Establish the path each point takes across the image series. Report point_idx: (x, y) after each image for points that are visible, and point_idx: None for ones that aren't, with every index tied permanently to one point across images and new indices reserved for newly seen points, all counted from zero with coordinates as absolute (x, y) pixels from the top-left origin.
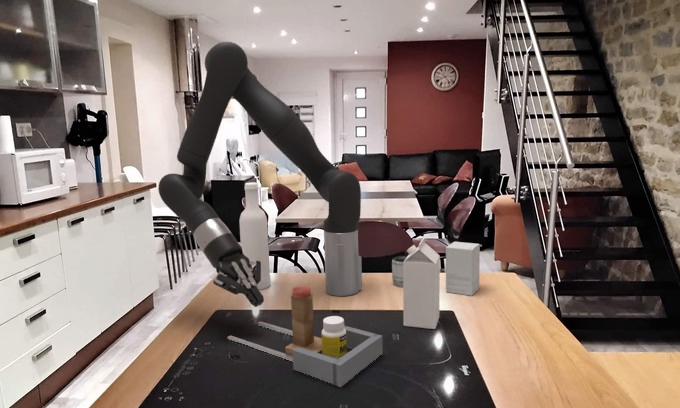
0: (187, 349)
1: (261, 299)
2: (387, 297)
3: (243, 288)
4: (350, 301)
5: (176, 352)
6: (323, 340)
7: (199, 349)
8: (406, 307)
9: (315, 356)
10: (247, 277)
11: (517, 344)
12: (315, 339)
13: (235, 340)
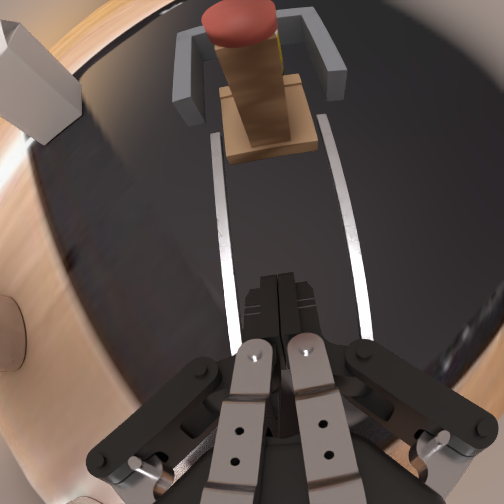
0: (460, 372)
1: (273, 277)
2: (2, 233)
3: (338, 353)
4: (28, 277)
5: (479, 373)
6: (278, 42)
7: (445, 351)
8: (62, 93)
9: (325, 34)
10: (269, 404)
11: (95, 30)
12: (236, 123)
13: (369, 314)
